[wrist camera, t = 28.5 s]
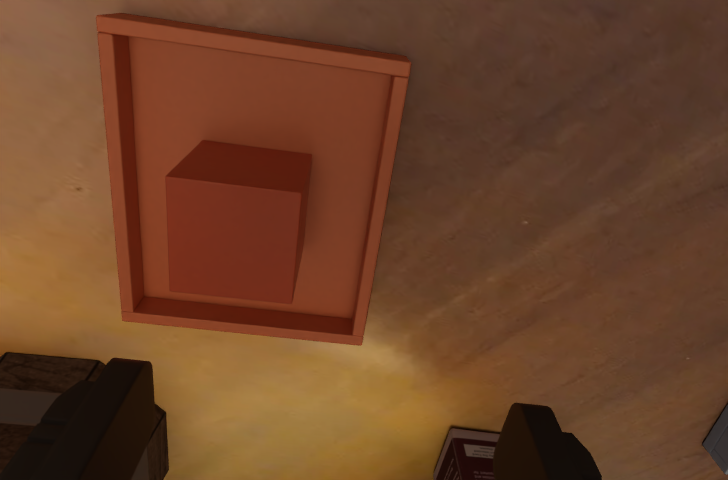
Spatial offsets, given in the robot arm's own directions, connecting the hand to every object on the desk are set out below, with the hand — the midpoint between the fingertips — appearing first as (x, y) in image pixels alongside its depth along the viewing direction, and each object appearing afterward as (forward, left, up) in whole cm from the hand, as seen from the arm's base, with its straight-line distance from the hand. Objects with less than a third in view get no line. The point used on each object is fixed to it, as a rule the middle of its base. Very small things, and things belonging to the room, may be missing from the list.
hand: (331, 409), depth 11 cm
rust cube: (+1, -4, -14) cm, 15 cm away
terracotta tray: (+1, -4, -15) cm, 15 cm away
